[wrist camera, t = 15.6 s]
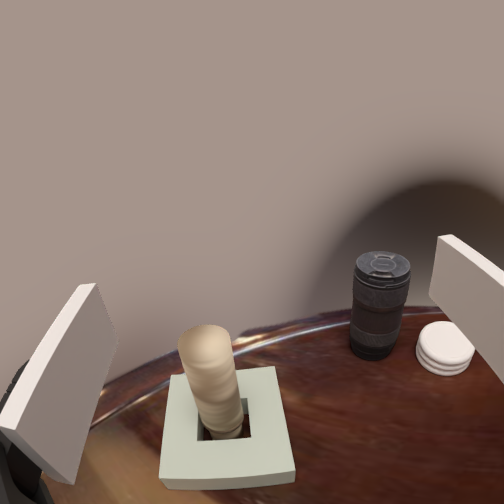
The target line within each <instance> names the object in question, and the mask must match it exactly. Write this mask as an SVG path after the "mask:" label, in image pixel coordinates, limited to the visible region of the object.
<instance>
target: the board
mask: <svg viewBox="0 0 504 504" xmlns="http://www.w3.org/2000/svg"><path fill="white" fill-rule="evenodd" d="M236 376H237V382H238V387H239V393H240V399H241V404H242V409H243V413H244V414H249V420H250V430H251V438H241V439H229V440H213V441H203V434H204V425H203V423H202V421H201V417H200V414H199V411H198V409H197V406H196V403H195V400H194V397H193V394H192V391H191V388H190V385H189V382H188V379H187V376H186V374H182V375H171V380H170V387H169V394H168V402H167V409H166V417H165V425H164V433H163V441H162V450H161V460H160V470H159V479H160V480H161V481H162V483H163V484H164V485H165V486H166V487H167V488H168V489H171V490H219V489H238V488H250V487H260V486H269V485H277V484H284V483H291V482H295V466H294V461H293V456H292V451H291V446H290V441H289V436H288V431H287V426H286V421H285V416H284V411H283V406H282V401H281V396H280V391H279V386H278V381H277V376H276V371H275V366H271V367H263V368H254V369H245V370H236Z"/></svg>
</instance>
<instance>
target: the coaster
mask: <svg viewBox="0 0 504 504" xmlns="http://www.w3.org/2000/svg"><path fill="white" fill-rule="evenodd" d="M474 351H475V347H474V346H473V345H472V344H471V342H470V341H469V340H468V339H467V338H466V337H465V335H464V334H463V333H462V332H461V331H460V330H459V329H458V327H457V326H456V325H455V324H454V323H452V322H445V321H440V322H434V323H431V324H429V325H427V326H425V327H424V328H423V329H422V331H421V333H420V335H419V339H418V342H417V345H416V356H417V359H418V361H419V363H420V364H421V365H422V366H423V367H424V368H425V369H427V370H428V371H430V372H432V373H434V374H437V375H441V376H453V375H457V374H459V373H461V372H463V371H464V370H465V369H466V368H467V367H468V365H469V363H470V361H471V359H472V356H473V354H474Z"/></svg>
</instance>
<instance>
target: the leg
mask: <svg viewBox="0 0 504 504" xmlns="http://www.w3.org/2000/svg"><path fill="white" fill-rule="evenodd" d="M177 347H178V351H179V354H180V357H181V361H182V364H183V367H184V370H185V373H186V376H187V379H188V382H189V385H190V388H191V391H192V394H193V397H194V400H195V403H196V406H197V409H198V411H199V414H200V417H201V421H202V423H203V425H204V427H205V428H206V429H207V430H209V432H210V434H211V437H212V440H229V439H241V438H243V435H244V433H243V427H242V422H243V420H244V413H243V409H242V404H241V399H240V393H239V387H238V382H237V376H236V370H235V364H234V359H233V353H232V347H231V340H230V335H229V334H228V332H227V331H226V330H225V329H223V328H222V327H219V326H216V325H200V326H196V327H193V328H191V329H189V330H187V331H185V332H184V333H183V334H182V335H181V336H180V338H179V339H178V342H177Z"/></svg>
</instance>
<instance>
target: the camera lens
mask: <svg viewBox="0 0 504 504" xmlns="http://www.w3.org/2000/svg"><path fill="white" fill-rule="evenodd" d="M410 277H411V271H410V264H409V262H408V260H407V259H405V258H404V257H403V256H400V255H398V254H395V253H392V252H383V251H375V252H368V253H366V254H363V255H361V256H360V257H359V258H358V259H357V261H356V265H355V268H354V279H353V280H354V281H353V306H352V315H351V320H350V341H351V347H352V350H353V352H354V353H355V354H356V355H357V356H359V357H361V358H363V359H366V360H379V359H382V358H384V357H386V356H387V355H388V354H389V353H390V351H391V349H392V348H393V347H394V345H395V342H396V339H397V337H398V335H399V330H400V326H401V319H402V314H403V309H404V304H405V302H406V298H407V295H408V289H409V283H410Z"/></svg>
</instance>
